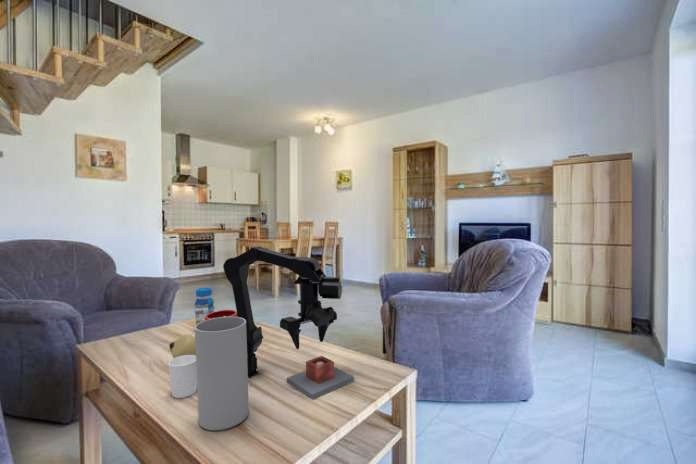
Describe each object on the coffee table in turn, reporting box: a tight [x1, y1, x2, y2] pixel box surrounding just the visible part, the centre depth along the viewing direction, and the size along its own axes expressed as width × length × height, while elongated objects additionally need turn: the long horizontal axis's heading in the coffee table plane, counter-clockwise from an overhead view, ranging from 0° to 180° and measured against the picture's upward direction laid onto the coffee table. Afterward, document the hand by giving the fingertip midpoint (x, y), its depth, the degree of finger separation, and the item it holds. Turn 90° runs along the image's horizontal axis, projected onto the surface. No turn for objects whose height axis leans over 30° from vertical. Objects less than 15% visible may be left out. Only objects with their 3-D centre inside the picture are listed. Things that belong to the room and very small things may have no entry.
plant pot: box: [205, 309, 238, 320], centre depth 145 cm, size 13×13×12 cm
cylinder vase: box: [194, 316, 250, 431], centre depth 89 cm, size 12×12×25 cm
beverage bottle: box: [194, 287, 215, 326], centre depth 158 cm, size 8×8×20 cm
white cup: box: [167, 355, 197, 399], centre depth 103 cm, size 8×8×10 cm
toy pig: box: [168, 334, 196, 359], centre depth 124 cm, size 10×12×11 cm
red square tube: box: [305, 355, 335, 384], centre depth 108 cm, size 6×6×5 cm
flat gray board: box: [286, 362, 355, 401], centre depth 108 cm, size 16×14×6 cm
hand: (309, 345), depth 110 cm, fingers open, 9 cm apart
